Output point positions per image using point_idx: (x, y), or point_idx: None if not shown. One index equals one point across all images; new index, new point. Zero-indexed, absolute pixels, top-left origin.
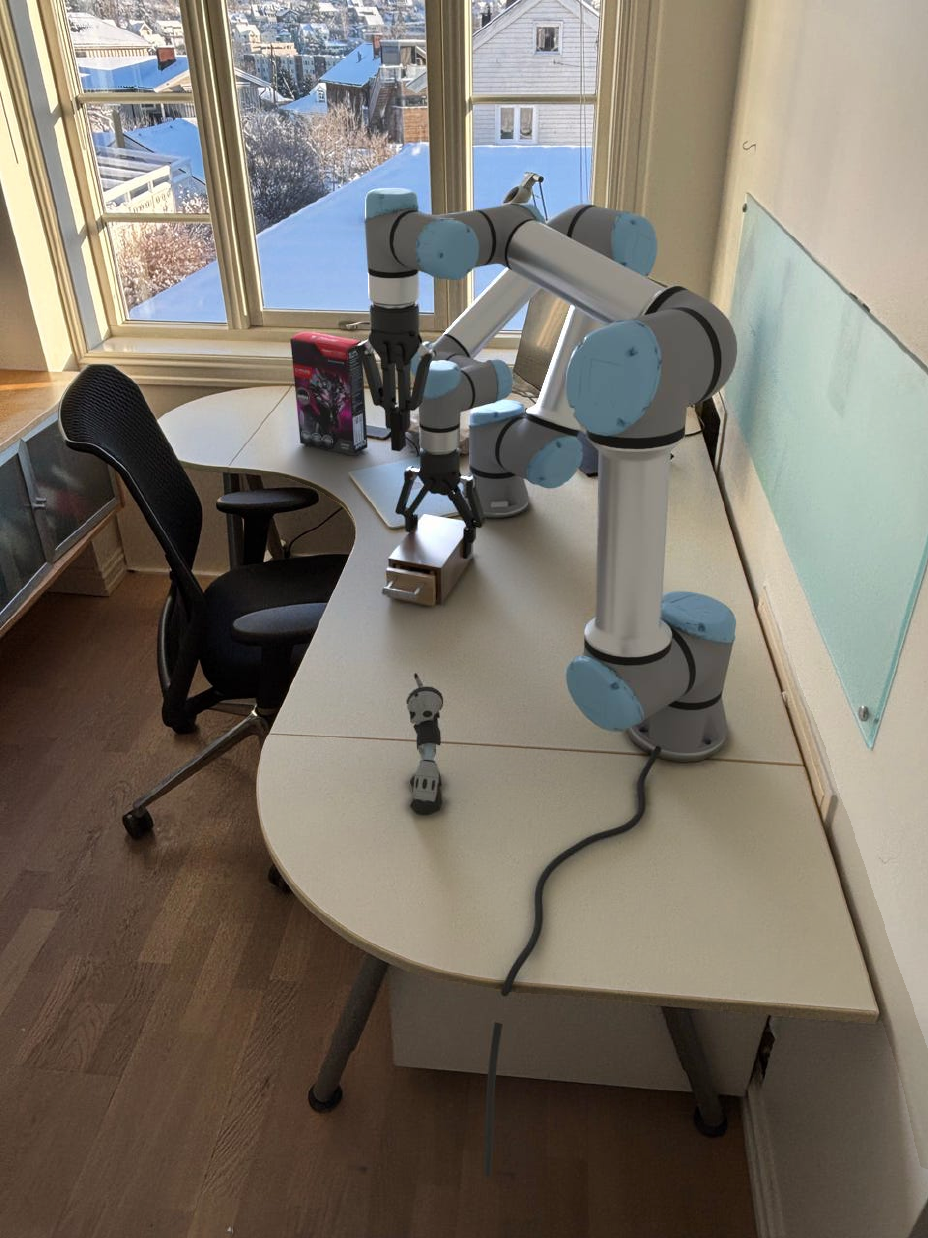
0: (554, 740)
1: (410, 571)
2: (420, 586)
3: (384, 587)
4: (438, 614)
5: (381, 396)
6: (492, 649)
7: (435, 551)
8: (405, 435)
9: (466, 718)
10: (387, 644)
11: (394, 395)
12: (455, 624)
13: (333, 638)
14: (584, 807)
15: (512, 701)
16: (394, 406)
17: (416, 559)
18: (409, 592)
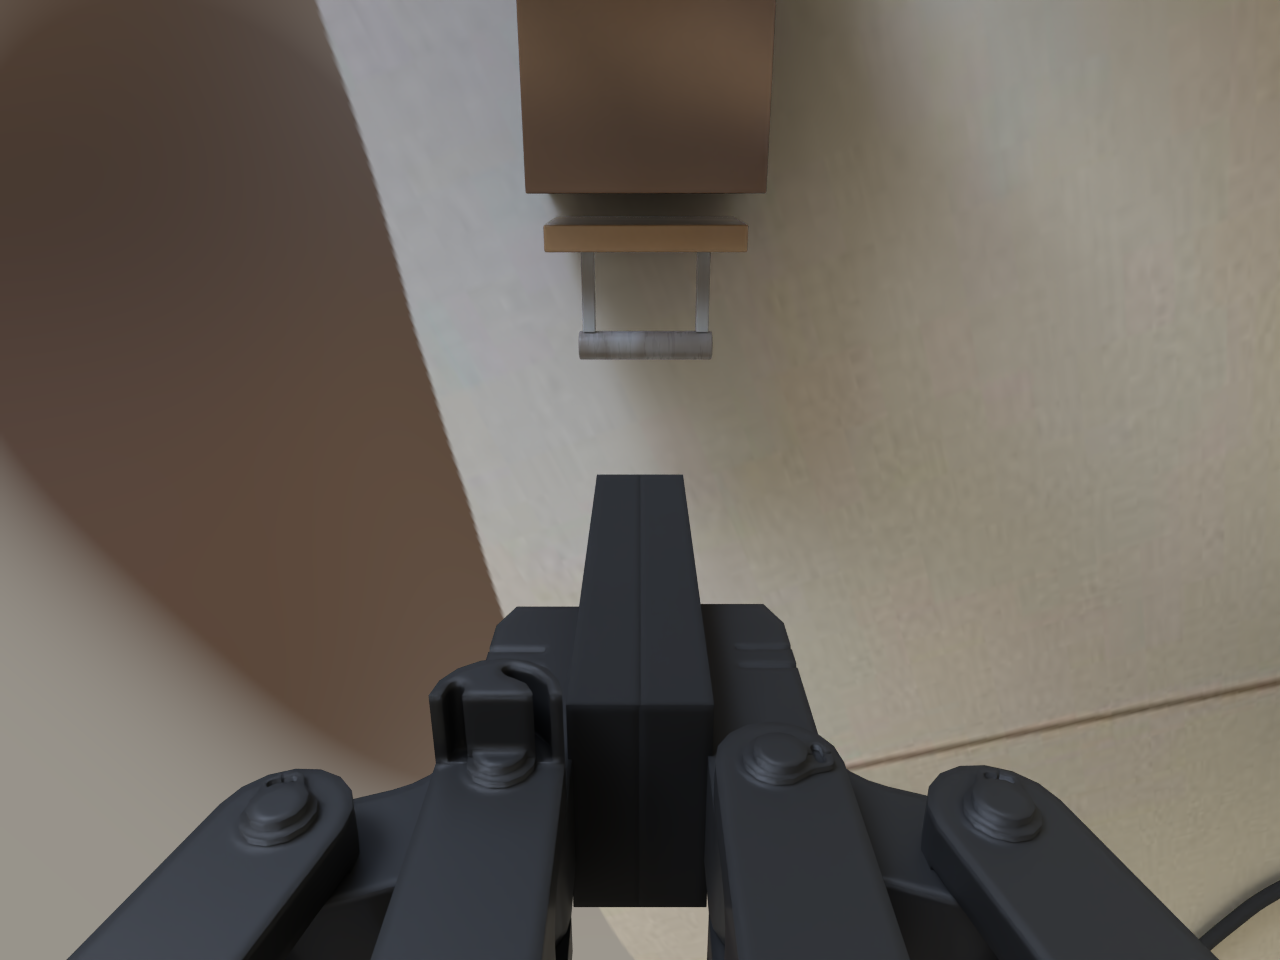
0: (1177, 677)
1: (642, 229)
2: (702, 280)
3: (583, 346)
4: (755, 255)
5: (309, 953)
6: (972, 385)
7: (699, 58)
8: (688, 520)
9: (957, 671)
10: (658, 464)
11: (551, 949)
12: (827, 293)
13: (495, 487)
14: (1243, 826)
15: (1062, 583)
16: (569, 800)
17: (643, 161)
18: (683, 348)
